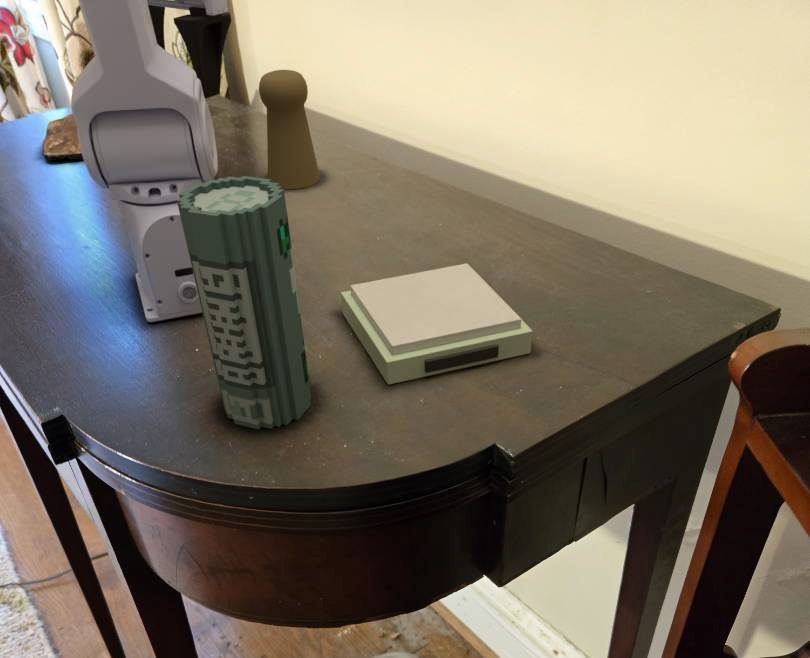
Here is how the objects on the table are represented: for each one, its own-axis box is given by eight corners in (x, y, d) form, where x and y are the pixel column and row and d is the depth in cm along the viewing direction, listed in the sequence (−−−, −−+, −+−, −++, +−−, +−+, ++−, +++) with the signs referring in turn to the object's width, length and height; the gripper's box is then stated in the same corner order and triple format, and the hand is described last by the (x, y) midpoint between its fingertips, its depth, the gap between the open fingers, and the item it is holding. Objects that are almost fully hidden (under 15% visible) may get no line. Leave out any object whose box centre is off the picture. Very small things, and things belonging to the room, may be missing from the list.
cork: (311, 190, 87) (299, 80, 79) (260, 187, 88) (244, 78, 80) (326, 171, 91) (316, 65, 84) (277, 169, 92) (263, 63, 85)
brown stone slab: (38, 139, 103) (28, 109, 100) (134, 125, 106) (127, 96, 103) (46, 166, 95) (35, 134, 92) (149, 149, 98) (142, 119, 96)
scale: (532, 355, 61) (535, 323, 59) (389, 387, 58) (387, 354, 56) (470, 288, 69) (471, 258, 67) (342, 313, 66) (339, 283, 64)
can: (324, 390, 58) (299, 183, 47) (283, 436, 54) (247, 220, 43) (254, 374, 60) (216, 172, 49) (210, 417, 56) (158, 206, 45)
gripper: (239, -77, 70) (262, 90, 80) (133, -84, 76) (166, 72, 86) (181, -67, 66) (213, 108, 76) (74, -75, 72) (116, 88, 82)
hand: (185, 90), depth 80 cm, fingers open, 7 cm apart
